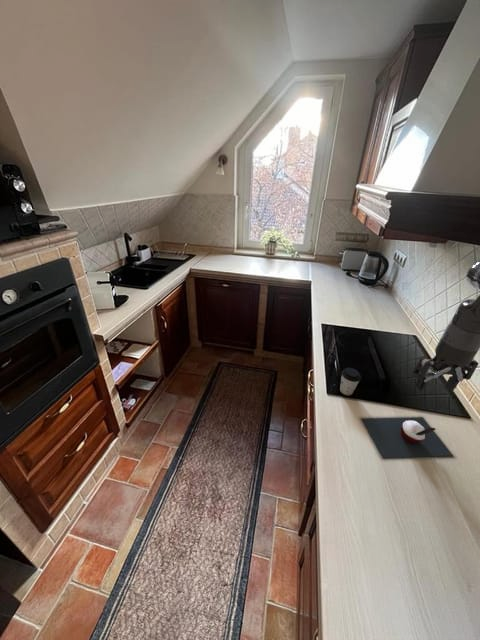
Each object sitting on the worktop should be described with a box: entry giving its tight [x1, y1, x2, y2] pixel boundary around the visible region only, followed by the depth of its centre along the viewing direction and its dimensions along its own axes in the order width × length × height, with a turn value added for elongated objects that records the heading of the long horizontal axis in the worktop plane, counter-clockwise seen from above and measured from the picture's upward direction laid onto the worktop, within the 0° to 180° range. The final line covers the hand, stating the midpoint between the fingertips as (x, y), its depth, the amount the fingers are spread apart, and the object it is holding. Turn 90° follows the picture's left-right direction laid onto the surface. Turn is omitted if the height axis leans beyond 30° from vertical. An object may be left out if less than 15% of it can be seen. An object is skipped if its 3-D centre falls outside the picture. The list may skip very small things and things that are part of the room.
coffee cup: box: [339, 367, 362, 396], centre depth 97 cm, size 7×7×10 cm
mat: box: [361, 416, 454, 459], centre depth 82 cm, size 22×14×1 cm, turn 92°
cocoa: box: [400, 420, 437, 444], centre depth 78 cm, size 10×6×12 cm, turn 150°
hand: (433, 388), depth 71 cm, fingers open, 8 cm apart
